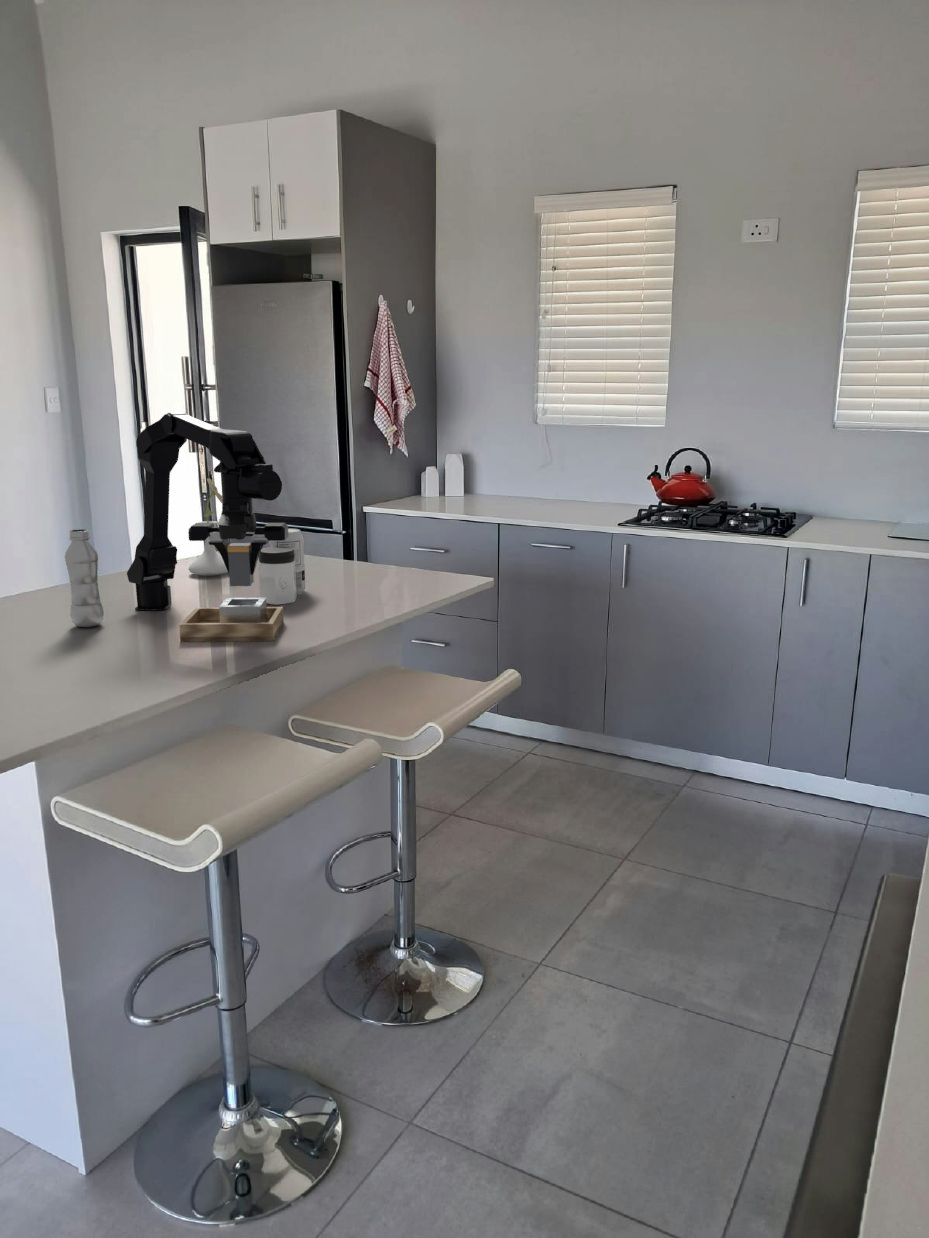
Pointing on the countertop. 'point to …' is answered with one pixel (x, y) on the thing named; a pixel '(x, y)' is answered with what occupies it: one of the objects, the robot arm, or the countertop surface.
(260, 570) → the jar
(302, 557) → the supplement can
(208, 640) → the oak box
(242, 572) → the block
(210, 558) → the flower in vase
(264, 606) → the socket
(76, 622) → the plastic bottle
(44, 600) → the countertop surface
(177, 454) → the robot arm
